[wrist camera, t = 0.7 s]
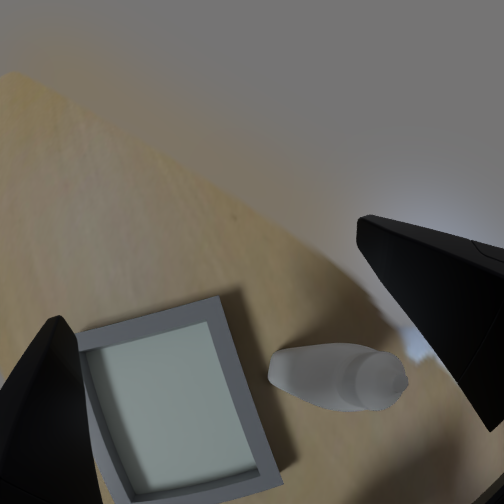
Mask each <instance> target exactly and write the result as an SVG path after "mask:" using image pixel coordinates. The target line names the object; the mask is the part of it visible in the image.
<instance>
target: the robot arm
mask: <svg viewBox="0 0 504 504" xmlns="http://www.w3.org/2000/svg"><path fill="white" fill-rule="evenodd" d="M356 242H357V246H358V248H359V250H360V251H361V253H362V254H363V256H364V257H365V259H366V260H367V262H368V263H369V264H370V266H371V268H372V269H373V271H374V272H375V273H376V275H377V276H378V278H379V279H380V281H381V282H382V283H383V285H384V286H385V288H386V289H387V290H388V291H389V293H390V294H391V295H392V296H393V298H394V299H395V300H396V301H397V303H398V304H399V305H400V306H401V308H402V309H403V310H404V312H405V313H406V314H407V315H408V317H409V318H410V319H411V321H412V322H413V323H414V324H415V326H416V327H417V328H418V330H419V331H420V332H421V334H422V335H423V336H424V338H425V339H426V340H427V342H428V343H429V344H430V346H431V347H432V348H433V350H434V351H435V352H436V354H437V355H438V357H439V358H440V359H441V361H442V362H443V364H444V365H445V366H446V368H447V369H448V371H449V372H450V373H451V375H452V376H453V378H454V379H455V381H456V382H458V383H457V384H458V385H459V387H460V388H461V390H462V391H463V393H464V394H465V396H466V397H467V399H468V400H469V402H470V403H471V405H472V406H473V408H474V409H475V411H476V412H477V414H478V415H479V417H480V419H481V420H482V422H483V423H484V425H485V427H486V428H487V429H488V431H489V432H491V431H493V430H494V429H495V428H496V427H497V426H498V425H499V424H500V423H501V422H502V421H503V420H504V249H503V248H499V247H495V246H491V245H488V244H484V243H481V242H477V241H473V240H471V241H470V240H469V239H466V238H463V237H459V236H455V235H452V234H448V233H444V232H440V231H436V230H433V229H429V228H425V227H421V226H417V225H413V224H409V223H405V222H400V221H396V220H392V219H388V218H383V217H379V216H375V215H366V216H363V217H360V218H359V219H358V221H357V236H356ZM0 504H103V502H102V498H101V493H100V489H99V484H98V479H97V474H96V469H95V464H94V458H93V452H92V446H91V439H90V432H89V424H88V415H87V406H86V395H85V386H84V380H83V374H82V368H81V362H80V355H79V348H78V341H77V338H76V336H75V334H74V333H73V331H72V330H71V328H70V327H69V325H68V324H67V322H66V321H65V319H64V318H63V317H62V316H60V315H58V316H54V317H51V318H49V319H48V320H47V321H46V322H45V324H44V325H43V326H42V328H41V329H40V331H39V332H38V333H37V335H36V336H35V338H34V339H33V341H32V342H31V343H30V345H29V346H28V348H27V349H26V351H25V352H24V354H23V355H22V357H21V358H20V360H19V361H18V363H17V364H16V366H15V367H14V369H13V370H12V372H11V374H10V375H9V377H8V378H7V380H6V382H5V383H4V385H3V386H2V388H1V390H0ZM472 504H504V473H503V474H502V475H501V476H500V477H499V478H498V479H497V480H496V481H495V482H494V483H493V484H492V485H491V486H490V487H489V488H488V489H487V490H486V491H485V492H484V493H483V494H482V495H481V496H480V497H479V498H477V499H476V500H475V501H474V502H473V503H472Z"/></svg>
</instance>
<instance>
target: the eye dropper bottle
mask: <svg viewBox="0 0 504 504" xmlns="http://www.w3.org/2000/svg"><path fill="white" fill-rule="evenodd" d="M268 380H269V381H270V383H272V384H273V385H274V386H276V387H278V388H279V389H281V390H283V391H285V392H287V393H289V394H291V395H293V396H296V397H298V398H300V399H302V400H304V401H306V402H309V403H311V404H313V405H316V406H319V407H322V408H325V409H329V410H334V411H343V412H354V411H362V410H367V409H368V410H372V411H377V410H378V411H380V410H383V409H384V410H385V409H386V408H388V407H390V406H391V405H393V404H394V403H395V402H396V401H397V400H398V399H399V397H400V396H401V394H402V392H403V391H404V390H405V389H406V388H407V386H408V378H407V376H406V375H405V370H404V367H403V365H402V362H401V361H400V360H399V358H397V356H395V355H393V354H392V353H390V352H385V351H377V350H375V349H372V348H370V347H367V346H363V345H358V344H351V343H328V344H319V345H311V346H302V347H294V348H287V349H282V350H278V351H276V352H275V353H273V355H272V357H271V361H270V366H269V371H268Z"/></svg>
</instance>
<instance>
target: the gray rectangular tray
mask: <svg viewBox="0 0 504 504" xmlns="http://www.w3.org/2000/svg"><path fill="white" fill-rule="evenodd" d="M75 336H76V338H77V341H78V348H79V355H80V362H81V368H82V374H83V380H84V386H85V395H86V406H87V415H88V424H89V432H90V439H91V446H92V452H93V456H94V458H95V461H96V463H97V466H98V468H99V470H100V473H101V475H102V477H103V479H104V482H105V484H106V486H107V488H108V490H109V492H110V494H111V496H112V498H113V500H114V502H115V504H217V503H222V502H226V501H230V500H234V499H237V498H241V497H245V496H248V495H252V494H255V493H258V492H261V491H265V490H268V489H271V488H274V487H277V486H280V485H283V484H284V483H283V480H282V478H281V475H280V473H279V470H278V467H277V465H276V462H275V459H274V457H273V454H272V451H271V449H270V446H269V443H268V441H267V438H266V435H265V432H264V430H263V427H262V424H261V421H260V419H259V416H258V413H257V410H256V407H255V404H254V402H253V399H252V396H251V393H250V390H249V387H248V384H247V381H246V378H245V375H244V372H243V370H242V367H241V364H240V361H239V358H238V354H237V351H236V348H235V345H234V342H233V339H232V336H231V333H230V330H229V327H228V324H227V320H226V317H225V314H224V311H223V308H222V304H221V301H220V298H219V295H218V296H214V297H211V298H207V299H204V300H200V301H197V302H193V303H189V304H186V305H182V306H179V307H175V308H171V309H168V310H164V311H160V312H157V313H153V314H149V315H146V316H142V317H138V318H134V319H131V320H127V321H123V322H119V323H115V324H111V325H107V326H104V327H100V328H96V329H92V330H88V331H84V332H80V333H76V334H75Z"/></svg>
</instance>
